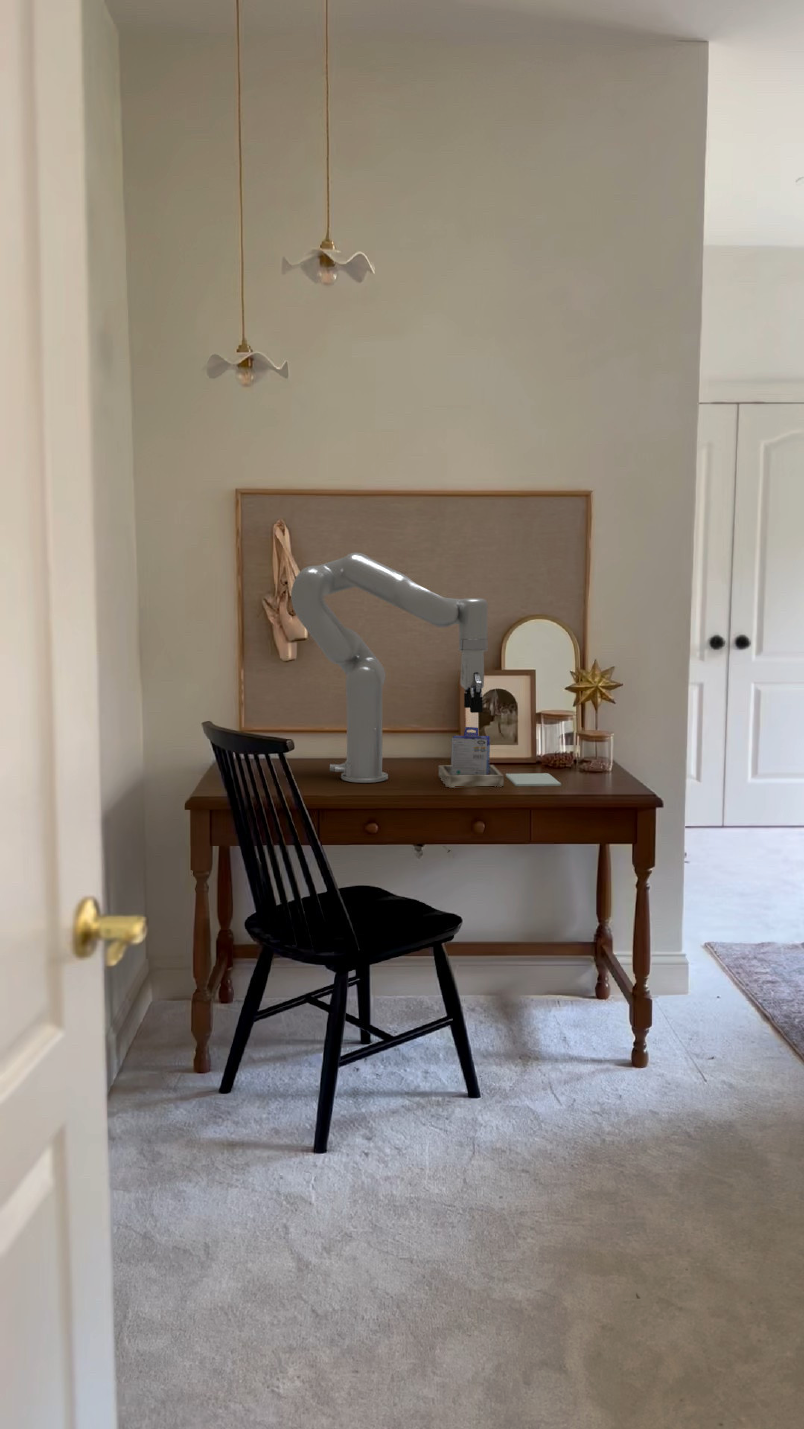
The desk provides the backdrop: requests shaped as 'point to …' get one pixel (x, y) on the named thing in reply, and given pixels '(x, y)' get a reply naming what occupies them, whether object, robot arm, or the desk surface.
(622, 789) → the desk surface
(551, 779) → the mat
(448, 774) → the holder
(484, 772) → the ink cartridge box
